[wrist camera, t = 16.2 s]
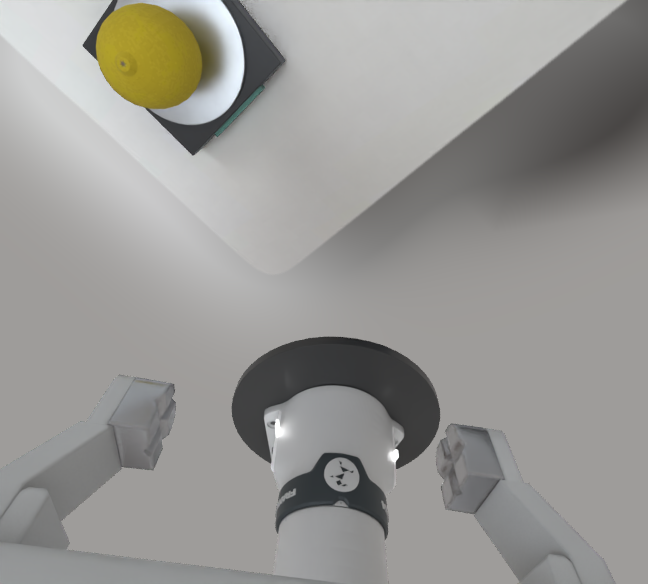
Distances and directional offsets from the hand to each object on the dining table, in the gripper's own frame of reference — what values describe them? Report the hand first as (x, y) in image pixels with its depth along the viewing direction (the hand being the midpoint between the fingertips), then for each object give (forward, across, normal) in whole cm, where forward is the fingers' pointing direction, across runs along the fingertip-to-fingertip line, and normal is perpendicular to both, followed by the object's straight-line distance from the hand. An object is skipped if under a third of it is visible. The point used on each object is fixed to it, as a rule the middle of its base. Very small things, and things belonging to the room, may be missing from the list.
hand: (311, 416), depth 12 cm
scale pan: (+24, +12, -6) cm, 28 cm away
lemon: (+24, +12, -6) cm, 28 cm away
